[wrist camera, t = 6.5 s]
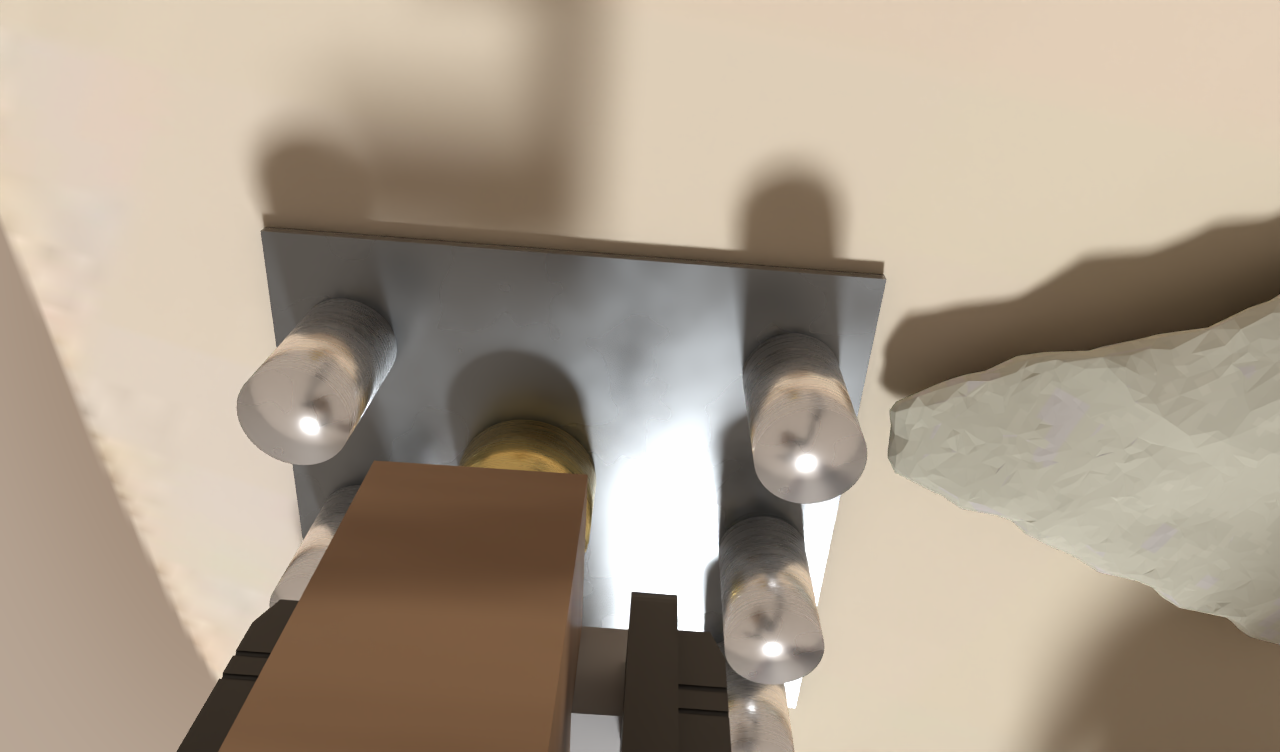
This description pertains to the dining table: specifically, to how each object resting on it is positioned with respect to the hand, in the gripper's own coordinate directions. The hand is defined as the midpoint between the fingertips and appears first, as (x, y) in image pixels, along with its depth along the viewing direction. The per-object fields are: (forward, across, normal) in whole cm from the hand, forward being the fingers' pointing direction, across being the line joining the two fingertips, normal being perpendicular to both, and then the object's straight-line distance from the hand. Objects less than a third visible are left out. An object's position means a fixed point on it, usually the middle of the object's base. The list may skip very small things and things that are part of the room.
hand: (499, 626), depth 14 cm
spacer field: (+12, 0, +6) cm, 13 cm away
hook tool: (+1, +1, +3) cm, 4 cm away
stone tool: (+12, -19, +1) cm, 22 cm away
